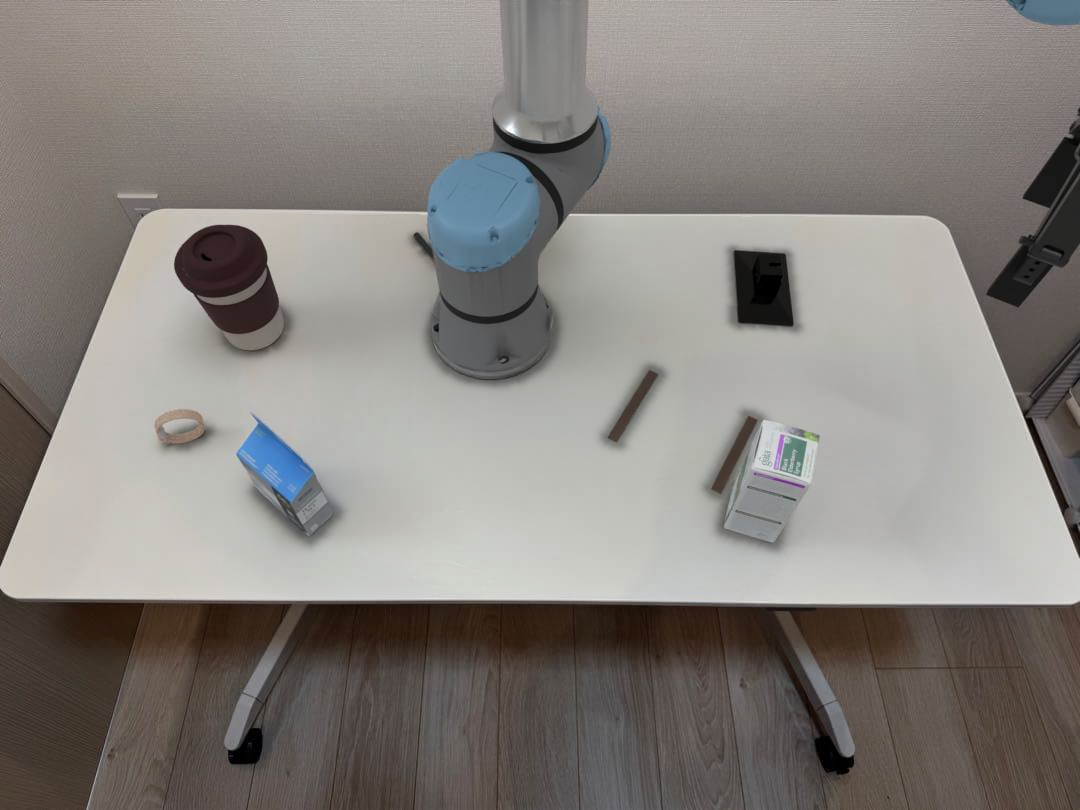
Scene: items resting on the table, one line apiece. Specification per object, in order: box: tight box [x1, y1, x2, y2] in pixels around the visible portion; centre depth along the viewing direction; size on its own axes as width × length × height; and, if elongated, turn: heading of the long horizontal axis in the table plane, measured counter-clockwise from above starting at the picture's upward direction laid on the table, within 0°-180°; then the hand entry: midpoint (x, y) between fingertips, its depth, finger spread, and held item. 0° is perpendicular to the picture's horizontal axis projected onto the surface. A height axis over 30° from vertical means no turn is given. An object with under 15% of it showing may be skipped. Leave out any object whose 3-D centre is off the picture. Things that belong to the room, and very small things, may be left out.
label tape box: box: [235, 411, 335, 537], centre depth 79 cm, size 9×4×12 cm, turn 50°
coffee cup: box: [173, 224, 285, 351], centre depth 91 cm, size 10×10×15 cm
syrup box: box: [722, 419, 821, 544], centre depth 78 cm, size 6×6×14 cm
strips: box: [607, 369, 759, 495], centre depth 89 cm, size 14×11×1 cm
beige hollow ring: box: [154, 408, 205, 445], centre depth 87 cm, size 3×5×5 cm, turn 111°
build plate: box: [733, 249, 795, 328], centre depth 99 cm, size 12×7×5 cm, turn 175°
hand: (1021, 248), depth 68 cm, fingers open, 13 cm apart
